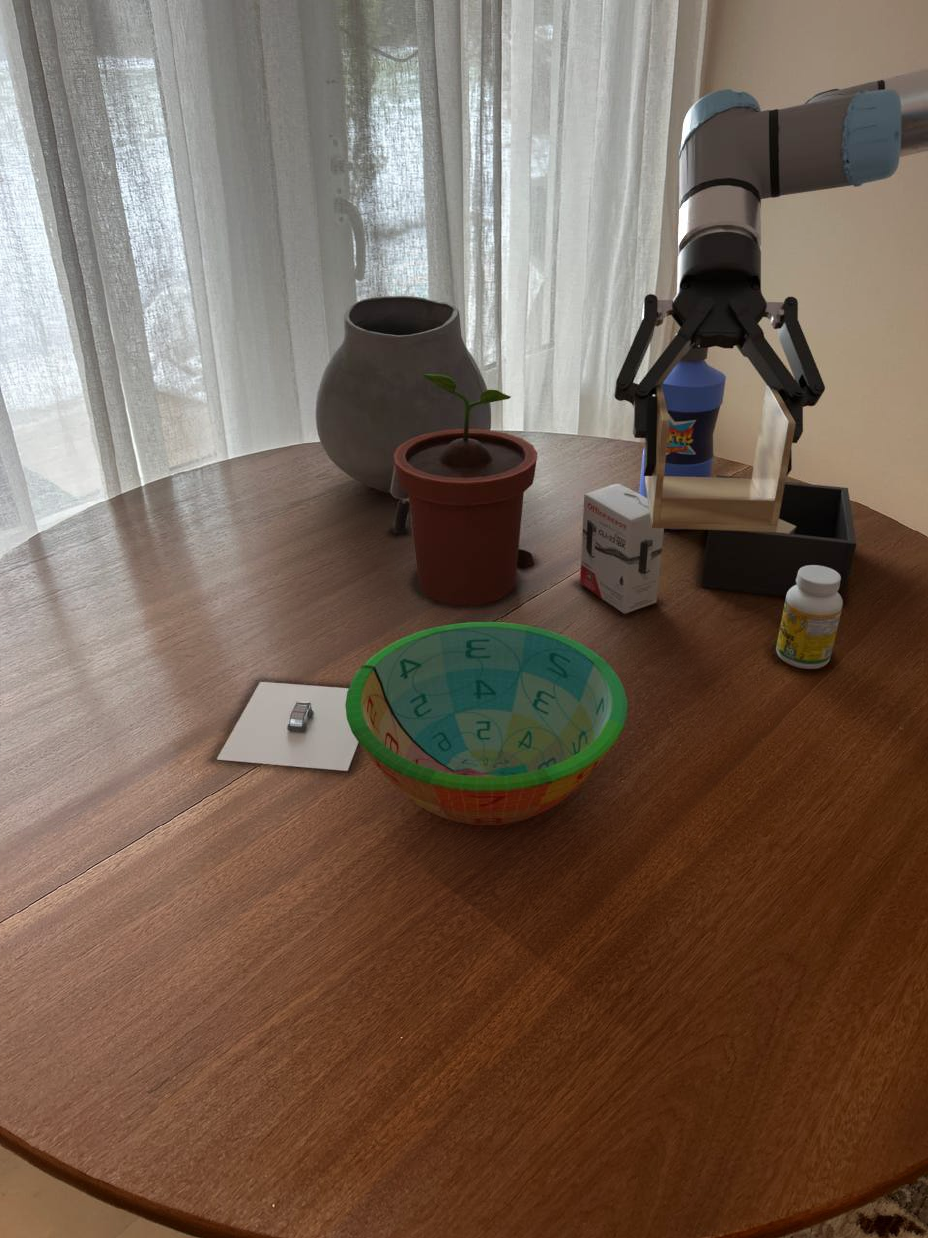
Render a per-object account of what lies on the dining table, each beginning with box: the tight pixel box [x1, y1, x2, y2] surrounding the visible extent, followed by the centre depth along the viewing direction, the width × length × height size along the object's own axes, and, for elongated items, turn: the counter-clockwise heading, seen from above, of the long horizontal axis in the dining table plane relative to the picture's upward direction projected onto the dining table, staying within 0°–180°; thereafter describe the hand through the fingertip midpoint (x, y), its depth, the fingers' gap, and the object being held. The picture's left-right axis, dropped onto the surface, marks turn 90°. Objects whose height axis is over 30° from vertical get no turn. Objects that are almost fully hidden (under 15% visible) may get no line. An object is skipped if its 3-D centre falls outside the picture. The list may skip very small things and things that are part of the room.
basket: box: [700, 474, 857, 602], centre depth 111 cm, size 16×16×8 cm
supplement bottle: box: [775, 565, 844, 670], centre depth 93 cm, size 5×5×10 cm
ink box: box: [579, 483, 665, 615], centre depth 104 cm, size 8×5×12 cm, turn 31°
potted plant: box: [390, 374, 538, 606], centre depth 106 cm, size 18×22×25 cm
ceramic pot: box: [315, 295, 492, 495], centre depth 128 cm, size 24×24×25 cm
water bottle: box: [638, 332, 727, 530], centre depth 118 cm, size 9×9×25 cm
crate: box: [645, 384, 796, 532], centre depth 84 cm, size 11×11×10 cm
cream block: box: [776, 519, 796, 534], centre depth 112 cm, size 4×4×4 cm
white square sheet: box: [216, 681, 359, 772], centre depth 86 cm, size 12×12×2 cm
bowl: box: [345, 621, 628, 826], centre depth 76 cm, size 22×22×10 cm
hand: (715, 472), depth 82 cm, fingers closed on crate, 11 cm apart
